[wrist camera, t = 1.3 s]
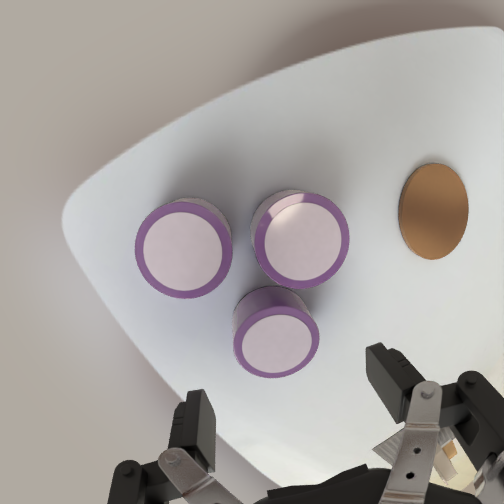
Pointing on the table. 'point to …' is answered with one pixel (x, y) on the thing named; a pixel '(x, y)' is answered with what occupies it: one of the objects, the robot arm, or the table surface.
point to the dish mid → (299, 238)
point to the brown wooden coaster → (433, 211)
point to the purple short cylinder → (273, 332)
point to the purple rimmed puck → (184, 248)
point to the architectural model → (442, 455)
